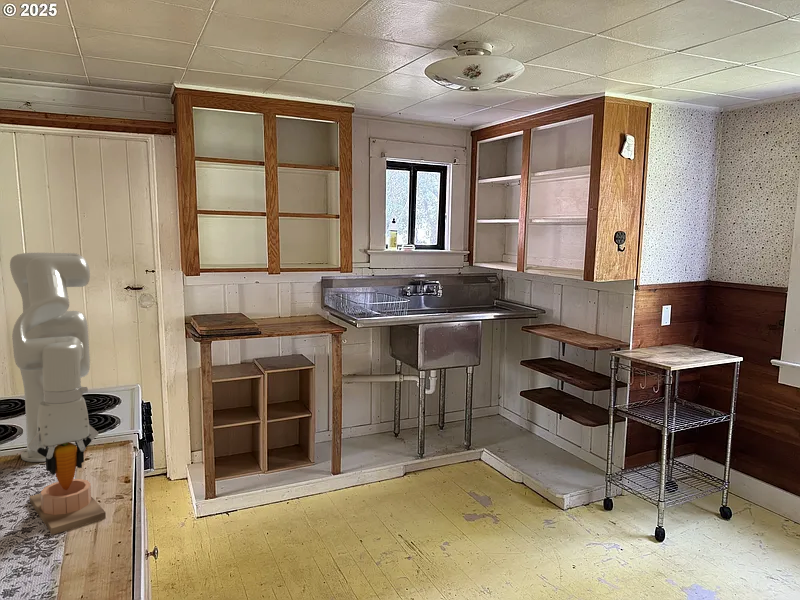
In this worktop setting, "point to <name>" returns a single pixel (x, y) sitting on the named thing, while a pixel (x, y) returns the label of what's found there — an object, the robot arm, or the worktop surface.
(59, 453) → the carrot
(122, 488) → the worktop surface
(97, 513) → the walnut board
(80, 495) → the terracotta cup
